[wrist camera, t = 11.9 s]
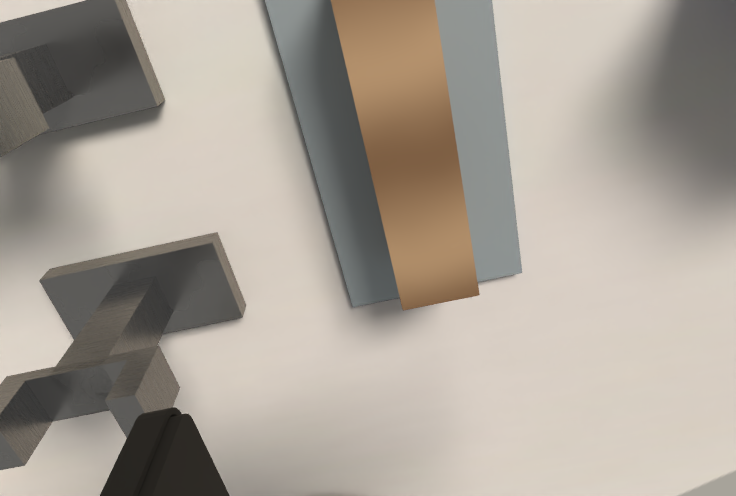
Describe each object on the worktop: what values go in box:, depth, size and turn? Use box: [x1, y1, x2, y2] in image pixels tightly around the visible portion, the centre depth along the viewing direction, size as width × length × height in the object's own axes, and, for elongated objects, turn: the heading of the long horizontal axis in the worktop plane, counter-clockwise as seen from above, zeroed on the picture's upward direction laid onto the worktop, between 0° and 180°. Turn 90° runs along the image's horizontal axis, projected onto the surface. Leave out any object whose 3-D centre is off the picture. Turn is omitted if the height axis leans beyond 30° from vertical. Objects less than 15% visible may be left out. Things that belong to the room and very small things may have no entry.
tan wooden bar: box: [331, 0, 479, 310], centre depth 21 cm, size 12×3×4 cm, turn 12°
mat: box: [265, 0, 522, 307], centre depth 23 cm, size 16×8×1 cm, turn 13°
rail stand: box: [0, 0, 246, 470], centre depth 20 cm, size 14×8×9 cm, turn 13°
